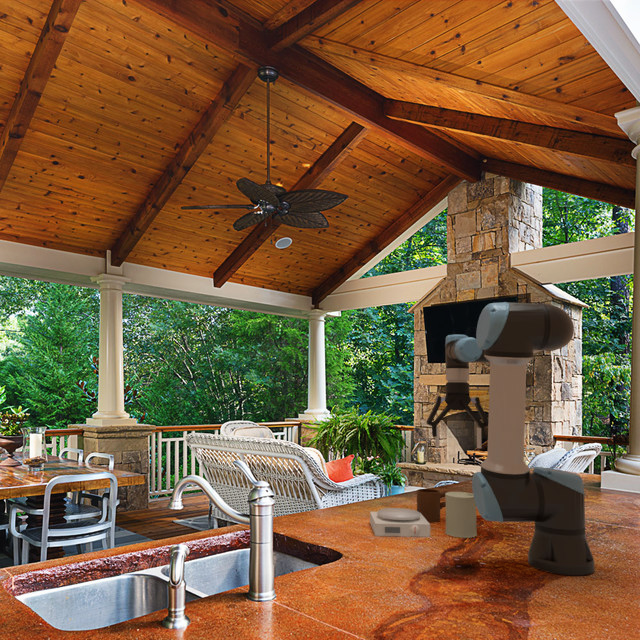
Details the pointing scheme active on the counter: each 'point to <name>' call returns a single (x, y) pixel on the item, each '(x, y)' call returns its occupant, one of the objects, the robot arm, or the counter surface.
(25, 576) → the counter surface
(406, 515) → the scale
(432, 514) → the mug
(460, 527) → the can
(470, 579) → the counter surface
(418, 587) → the counter surface
